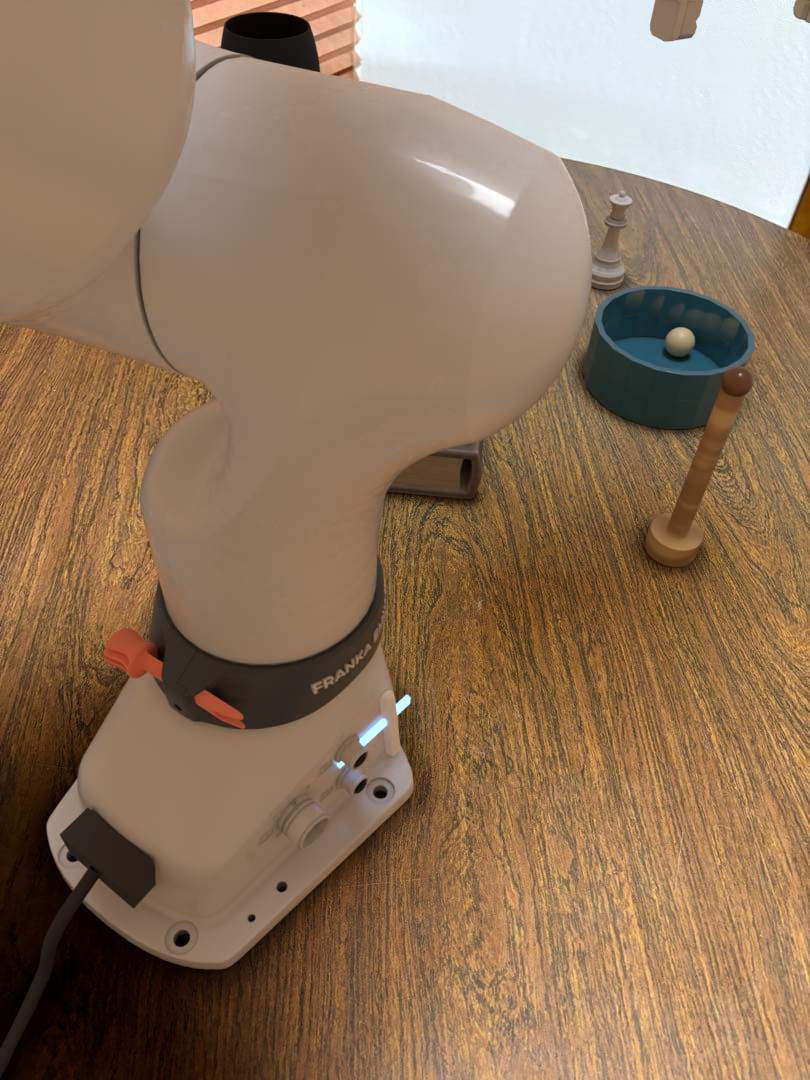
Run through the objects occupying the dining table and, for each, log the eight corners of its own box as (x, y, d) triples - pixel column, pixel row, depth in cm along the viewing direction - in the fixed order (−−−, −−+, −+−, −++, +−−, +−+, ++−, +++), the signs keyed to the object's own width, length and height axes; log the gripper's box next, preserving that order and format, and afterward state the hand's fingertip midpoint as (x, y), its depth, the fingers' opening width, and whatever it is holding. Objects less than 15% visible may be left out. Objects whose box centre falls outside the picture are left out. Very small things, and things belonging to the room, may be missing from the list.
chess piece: (618, 269, 96) (639, 181, 89) (626, 290, 93) (649, 201, 86) (579, 268, 96) (597, 180, 88) (586, 289, 93) (605, 200, 85)
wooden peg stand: (685, 575, 65) (763, 396, 53) (636, 552, 67) (701, 373, 54) (703, 543, 68) (781, 365, 55) (655, 522, 69) (722, 343, 57)
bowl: (702, 450, 75) (724, 395, 71) (557, 391, 80) (569, 336, 76) (752, 372, 84) (774, 318, 79) (618, 323, 89) (632, 270, 84)
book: (276, 281, 91) (273, 237, 88) (486, 299, 91) (491, 255, 87) (206, 475, 70) (198, 428, 67) (477, 500, 70) (484, 454, 66)
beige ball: (684, 366, 83) (692, 341, 81) (657, 355, 84) (664, 331, 82) (694, 352, 85) (702, 328, 82) (667, 342, 86) (675, 318, 83)
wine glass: (320, 238, 98) (314, 45, 83) (229, 234, 98) (206, 39, 83) (327, 196, 105) (322, 11, 90) (242, 192, 105) (223, 6, 90)
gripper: (704, -376, 29) (612, 72, 39) (1095, -348, 35) (930, 28, 45) (596, -381, 32) (539, 28, 43) (968, -355, 39) (842, -6, 49)
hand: (743, 28), depth 44 cm, fingers open, 8 cm apart
